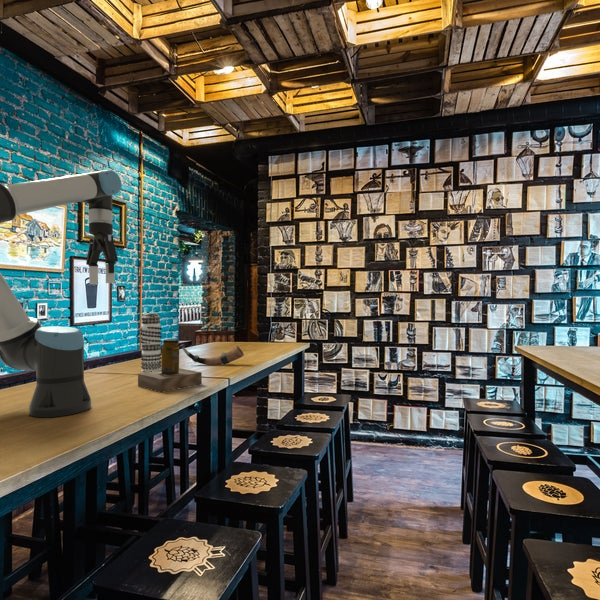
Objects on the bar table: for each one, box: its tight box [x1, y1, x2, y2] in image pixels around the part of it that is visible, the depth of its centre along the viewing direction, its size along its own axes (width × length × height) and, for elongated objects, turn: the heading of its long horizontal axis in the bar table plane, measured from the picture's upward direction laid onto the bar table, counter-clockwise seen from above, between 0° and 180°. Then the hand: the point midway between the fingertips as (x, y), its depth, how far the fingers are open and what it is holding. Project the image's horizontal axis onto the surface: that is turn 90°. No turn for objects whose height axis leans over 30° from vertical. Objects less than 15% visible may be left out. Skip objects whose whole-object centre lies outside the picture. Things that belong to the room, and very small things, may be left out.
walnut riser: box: [137, 367, 203, 393], centre depth 149 cm, size 16×16×5 cm
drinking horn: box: [179, 343, 245, 366], centre depth 194 cm, size 6×30×10 cm, turn 90°
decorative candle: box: [139, 312, 163, 373], centre depth 182 cm, size 9×9×25 cm
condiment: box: [157, 338, 184, 376], centre depth 148 cm, size 7×8×12 cm
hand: (101, 283), depth 145 cm, fingers open, 13 cm apart
